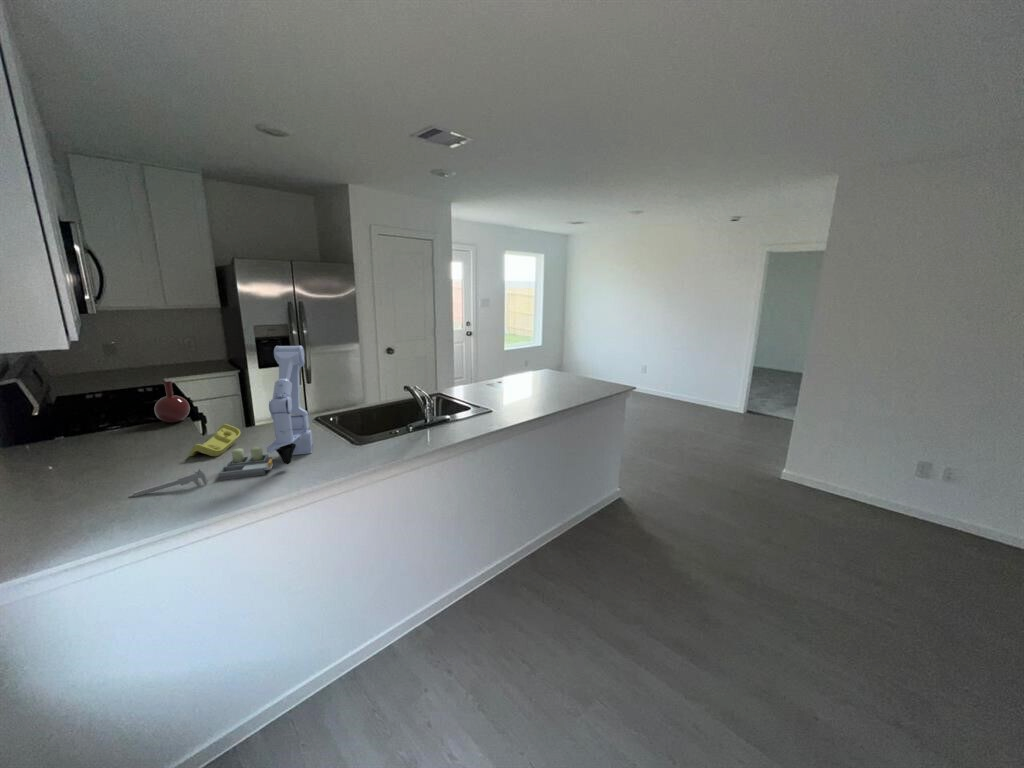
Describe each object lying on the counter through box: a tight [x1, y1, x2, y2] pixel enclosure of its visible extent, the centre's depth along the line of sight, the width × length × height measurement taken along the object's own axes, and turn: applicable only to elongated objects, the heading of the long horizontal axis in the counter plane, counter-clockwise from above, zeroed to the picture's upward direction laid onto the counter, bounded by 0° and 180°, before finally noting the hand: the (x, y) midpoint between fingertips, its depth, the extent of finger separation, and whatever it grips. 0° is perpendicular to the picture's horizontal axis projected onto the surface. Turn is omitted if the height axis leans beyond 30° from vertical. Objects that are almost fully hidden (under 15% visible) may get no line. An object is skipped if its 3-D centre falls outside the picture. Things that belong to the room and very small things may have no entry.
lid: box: [242, 458, 274, 471], centre depth 146 cm, size 9×4×3 cm, turn 110°
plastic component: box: [188, 423, 241, 457], centre depth 166 cm, size 20×7×10 cm
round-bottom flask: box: [153, 380, 191, 423], centre depth 192 cm, size 13×13×20 cm
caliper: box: [128, 468, 208, 498], centre depth 132 cm, size 20×1×6 cm, turn 117°
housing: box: [218, 446, 273, 480], centre depth 148 cm, size 14×13×7 cm
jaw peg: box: [231, 447, 245, 463], centre depth 150 cm, size 4×4×6 cm
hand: (287, 463), depth 150 cm, fingers closed
